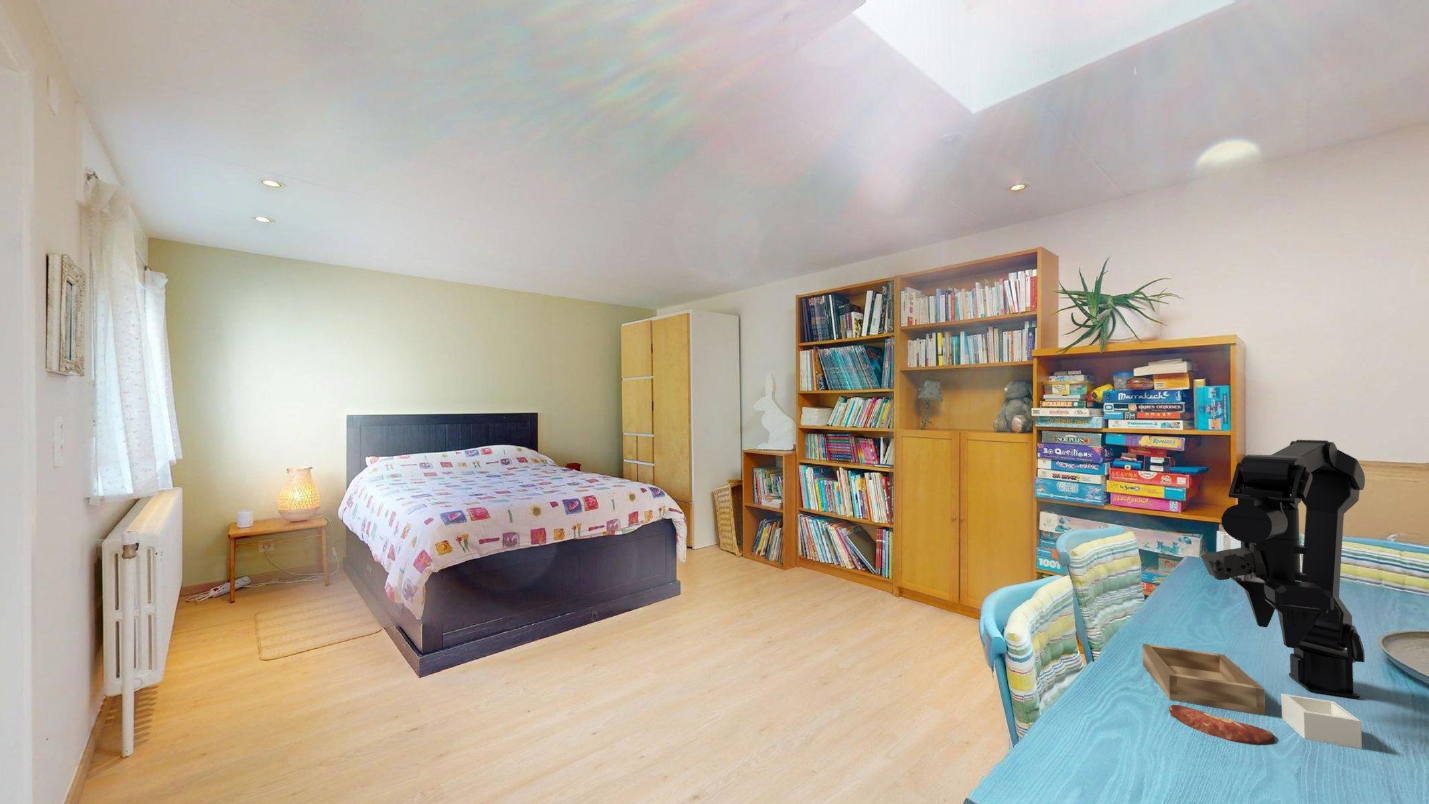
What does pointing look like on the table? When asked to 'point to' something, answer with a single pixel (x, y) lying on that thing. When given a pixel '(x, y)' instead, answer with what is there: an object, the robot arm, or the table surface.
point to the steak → (1221, 726)
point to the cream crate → (1321, 720)
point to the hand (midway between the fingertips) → (1275, 636)
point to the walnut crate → (1203, 679)
